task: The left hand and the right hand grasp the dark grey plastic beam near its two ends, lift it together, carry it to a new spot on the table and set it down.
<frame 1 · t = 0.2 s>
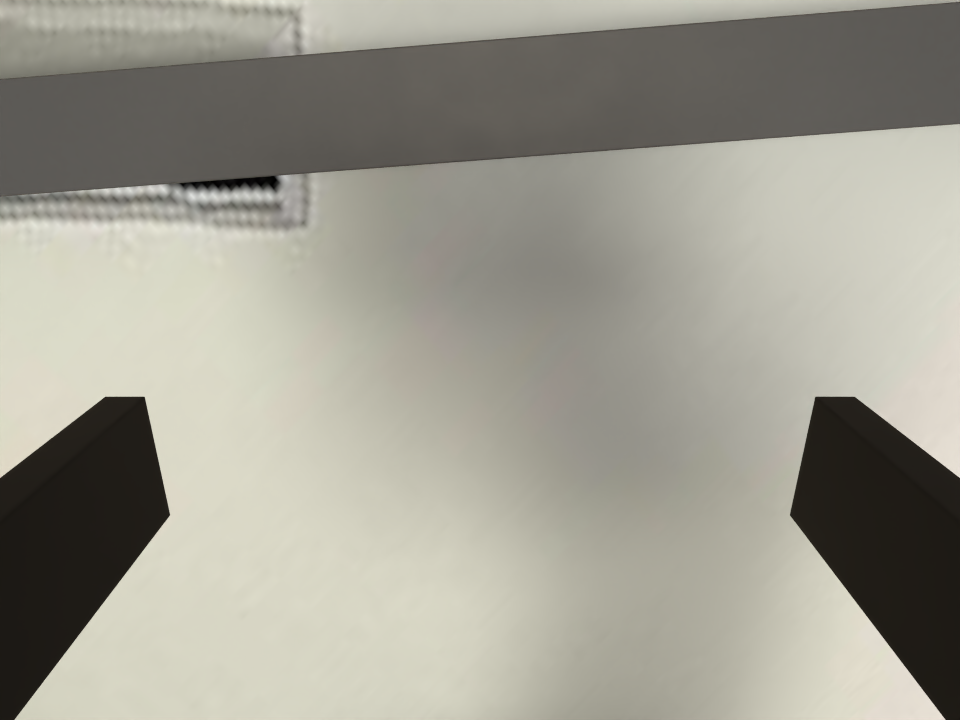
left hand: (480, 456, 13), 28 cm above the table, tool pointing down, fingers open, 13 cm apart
beam: (385, 111, 36), on the table
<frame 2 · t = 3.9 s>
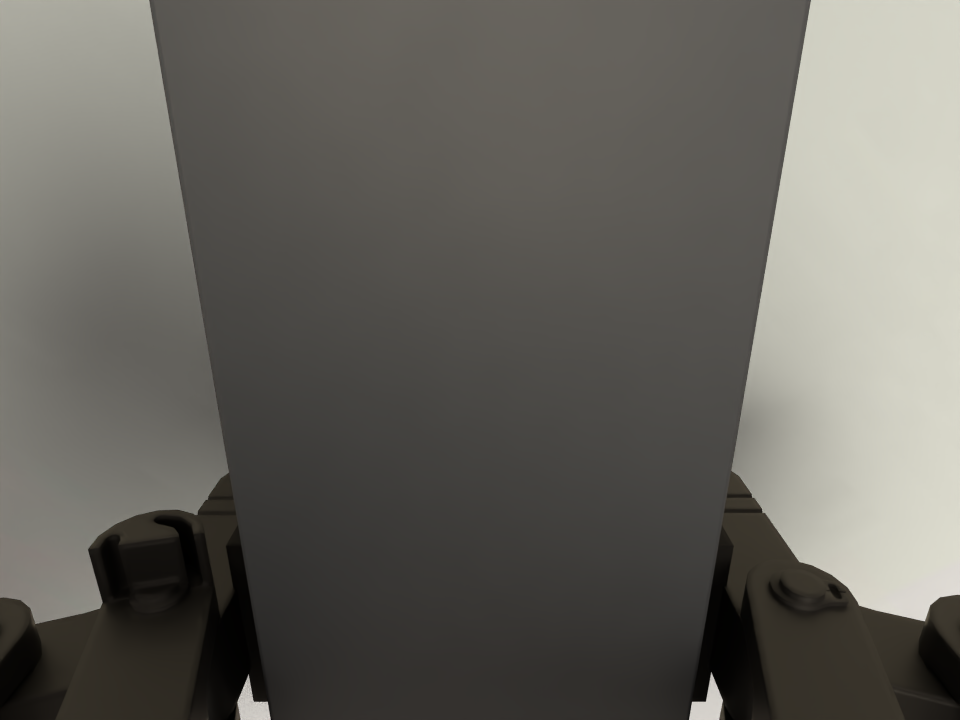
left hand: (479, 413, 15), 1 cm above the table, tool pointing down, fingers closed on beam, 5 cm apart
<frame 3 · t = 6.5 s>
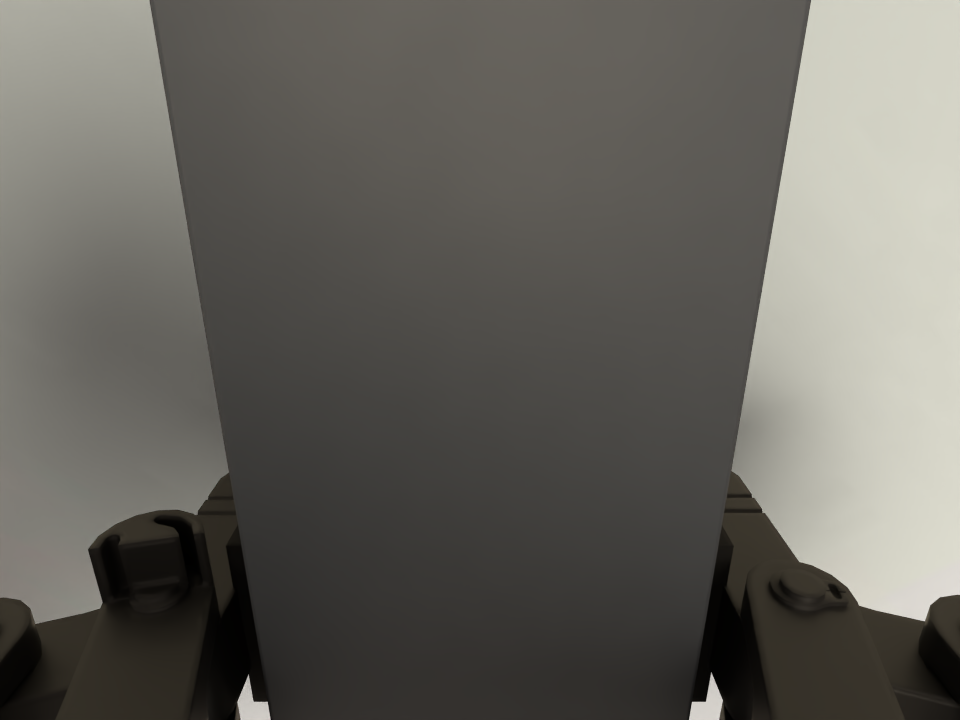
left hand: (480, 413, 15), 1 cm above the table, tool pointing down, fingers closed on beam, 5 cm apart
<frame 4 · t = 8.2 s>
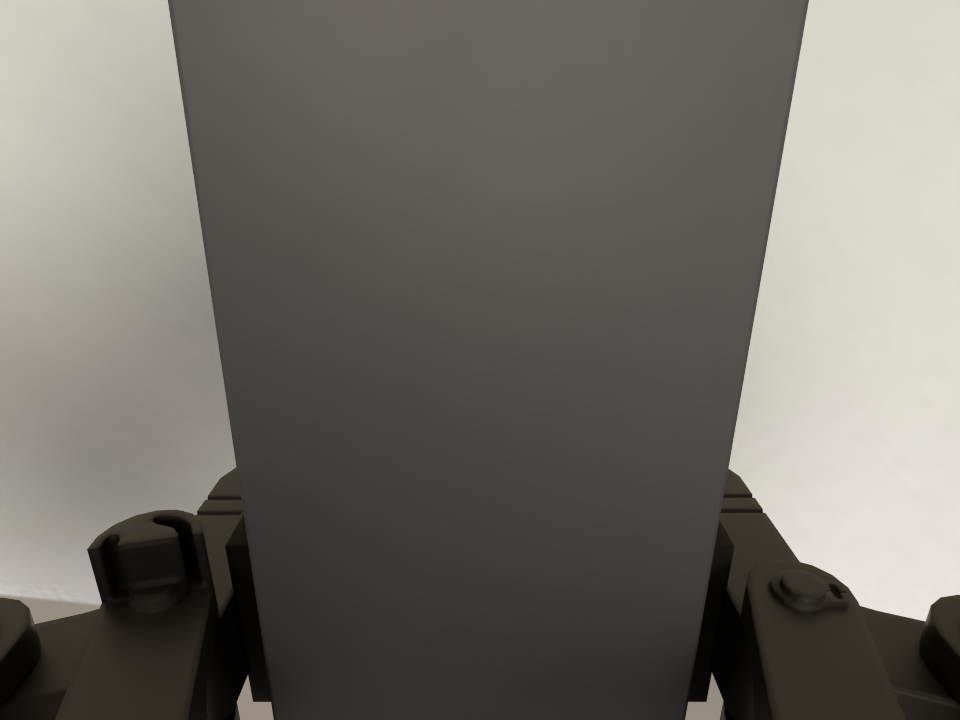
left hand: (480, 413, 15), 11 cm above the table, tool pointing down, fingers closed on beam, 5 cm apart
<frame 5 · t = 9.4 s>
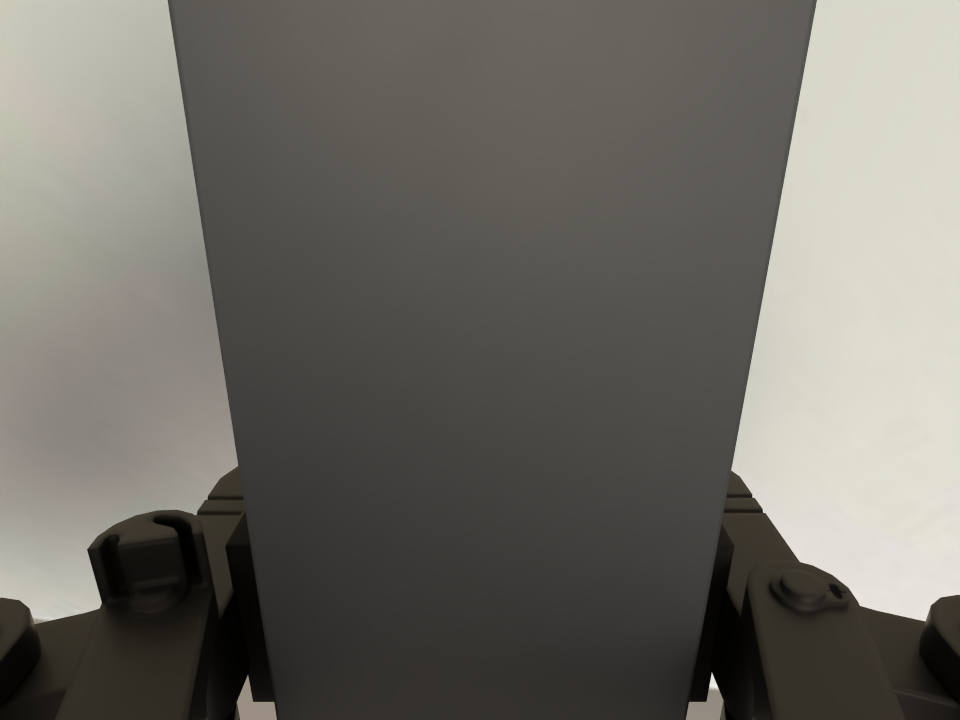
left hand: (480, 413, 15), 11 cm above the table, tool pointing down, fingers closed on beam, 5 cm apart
when the left hand's fingers open (2 cm above the table, at t = 12.4 s): beam drops 1 cm, on the table.
when the right hand's fingers open (4 cm above the table, at t = 12.6 s): beam stays where it is, on the table.
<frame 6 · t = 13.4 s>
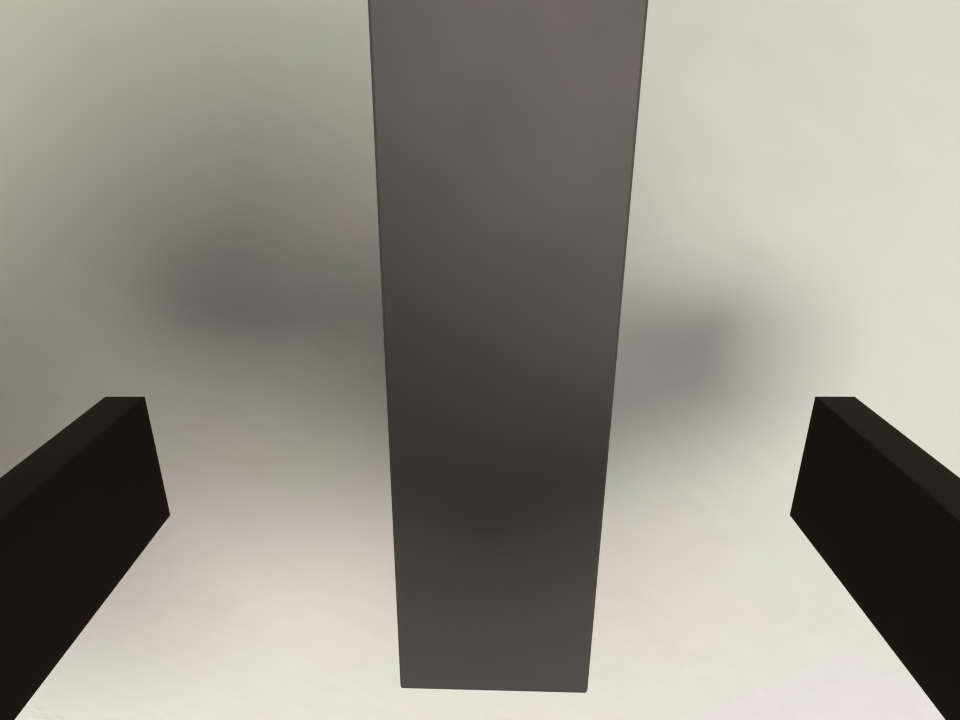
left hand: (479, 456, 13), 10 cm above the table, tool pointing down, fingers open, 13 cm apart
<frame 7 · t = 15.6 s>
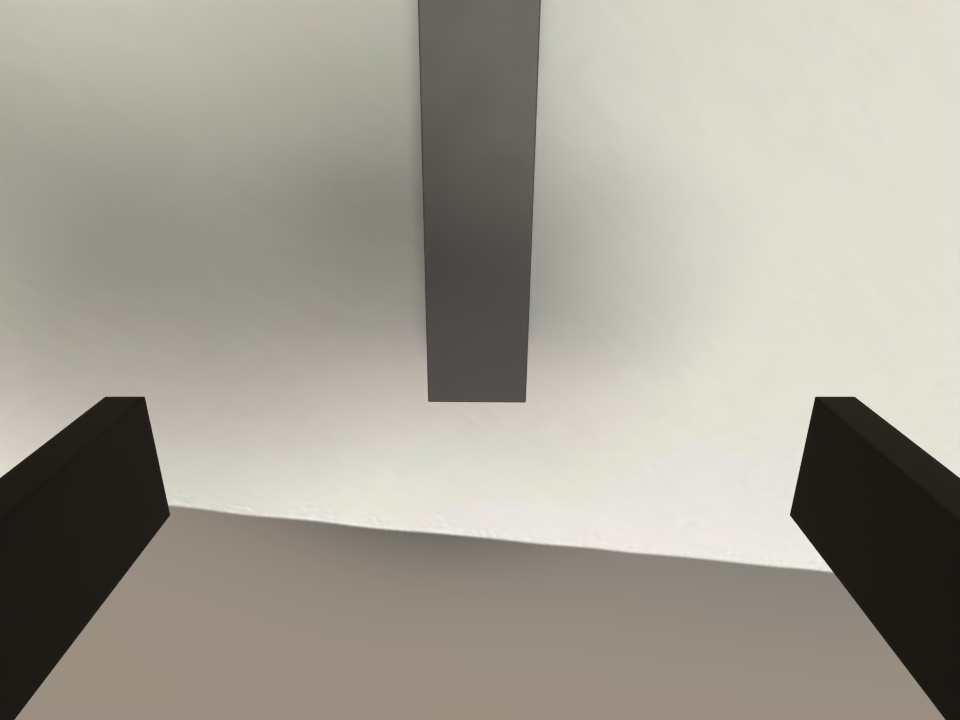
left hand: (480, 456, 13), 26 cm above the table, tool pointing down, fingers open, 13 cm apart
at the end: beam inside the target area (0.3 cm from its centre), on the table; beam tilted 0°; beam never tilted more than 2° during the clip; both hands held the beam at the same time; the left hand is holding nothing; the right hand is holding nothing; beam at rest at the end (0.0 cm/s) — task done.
